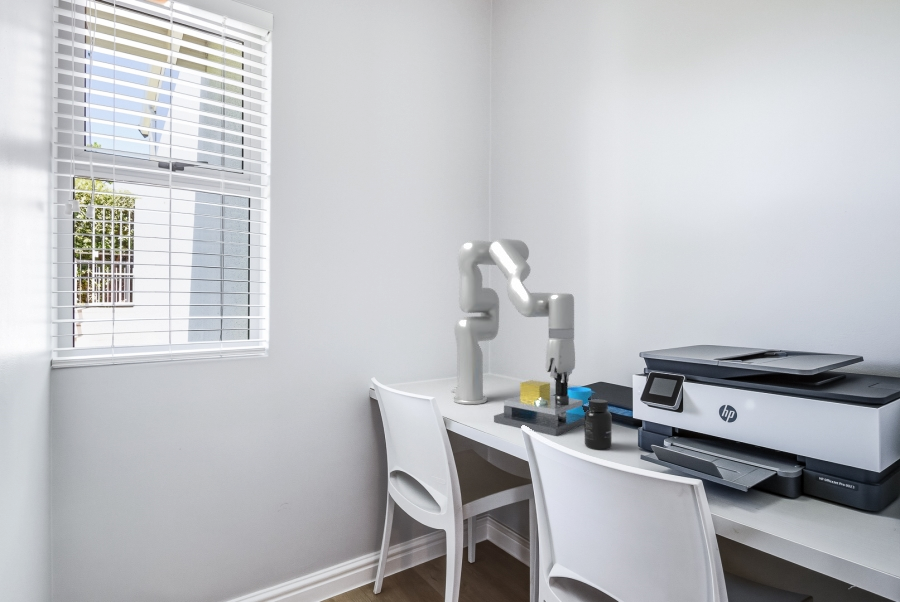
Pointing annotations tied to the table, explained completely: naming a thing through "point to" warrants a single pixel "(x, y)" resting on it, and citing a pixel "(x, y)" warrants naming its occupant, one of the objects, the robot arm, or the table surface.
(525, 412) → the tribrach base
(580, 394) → the mug
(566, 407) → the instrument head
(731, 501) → the table surface
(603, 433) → the supplement bottle
